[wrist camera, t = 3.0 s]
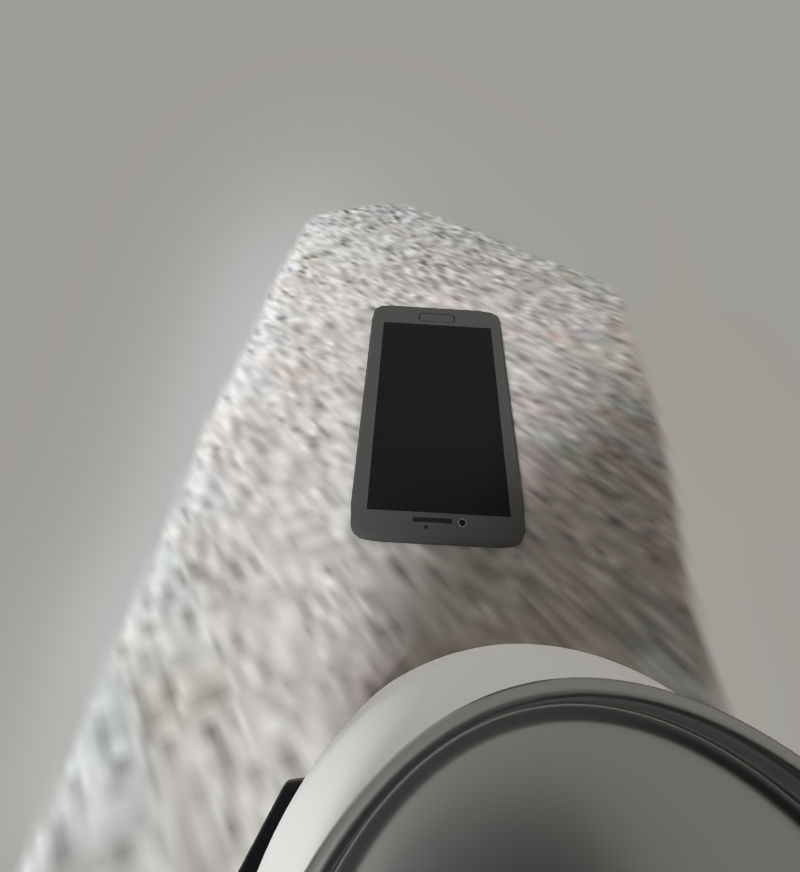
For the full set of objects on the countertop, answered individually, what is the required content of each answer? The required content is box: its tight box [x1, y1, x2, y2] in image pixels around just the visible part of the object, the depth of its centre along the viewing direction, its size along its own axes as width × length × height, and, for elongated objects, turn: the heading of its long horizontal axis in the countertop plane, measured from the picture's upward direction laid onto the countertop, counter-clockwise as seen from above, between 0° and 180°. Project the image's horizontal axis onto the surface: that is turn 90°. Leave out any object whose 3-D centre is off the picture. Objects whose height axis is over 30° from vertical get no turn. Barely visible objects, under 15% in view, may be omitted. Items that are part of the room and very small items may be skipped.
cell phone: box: [351, 306, 525, 548], centre depth 20 cm, size 7×14×1 cm, turn 177°
